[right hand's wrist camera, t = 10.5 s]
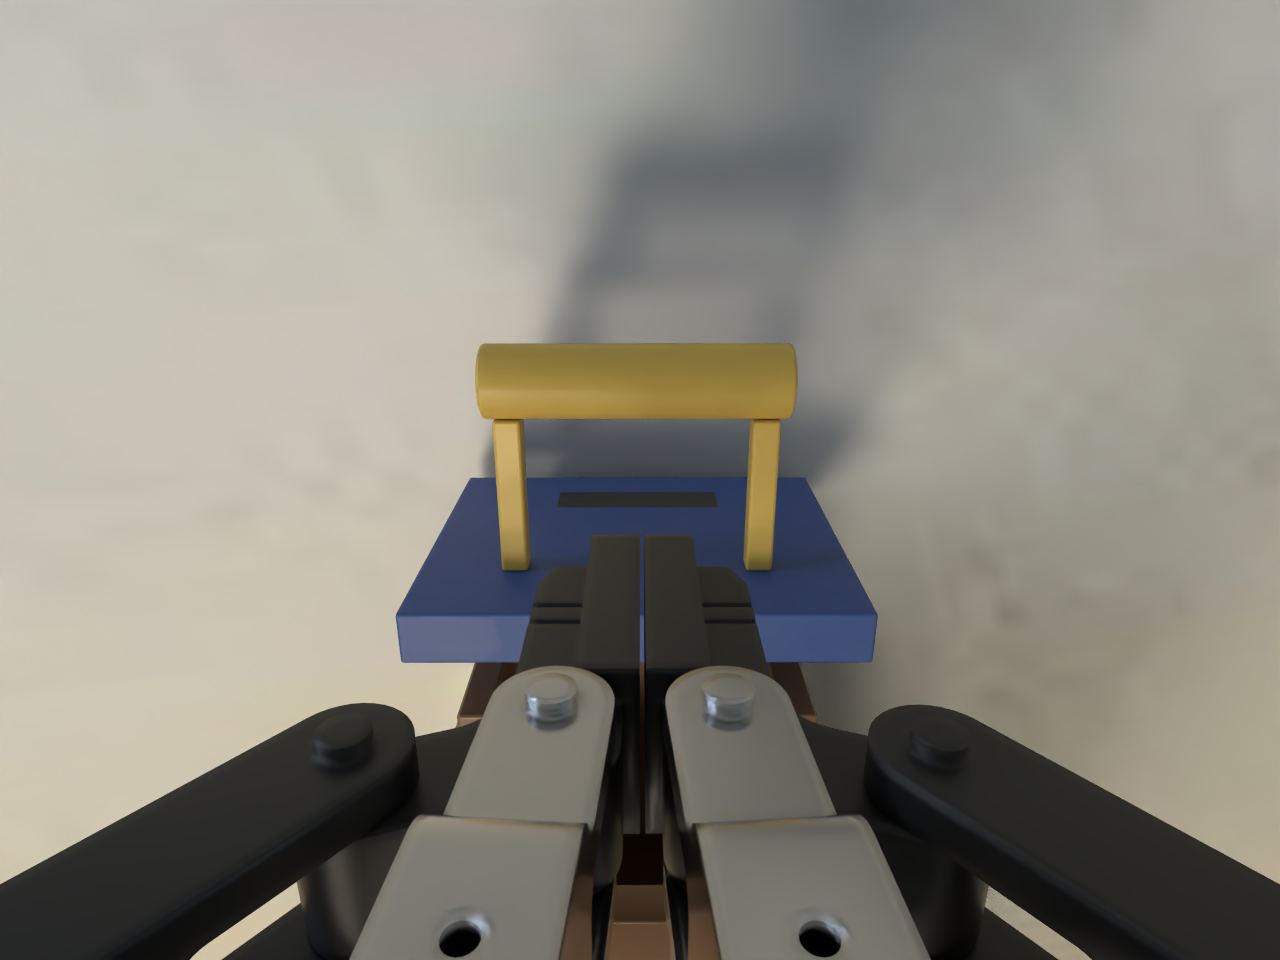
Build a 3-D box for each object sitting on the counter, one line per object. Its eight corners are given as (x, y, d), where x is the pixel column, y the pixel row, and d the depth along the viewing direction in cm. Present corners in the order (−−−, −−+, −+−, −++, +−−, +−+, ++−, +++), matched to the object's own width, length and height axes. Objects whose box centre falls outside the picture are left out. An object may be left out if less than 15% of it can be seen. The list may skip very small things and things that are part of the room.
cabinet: (473, 667, 28) (389, 922, 19) (802, 667, 28) (884, 922, 19) (500, 978, 34) (445, 1299, 24) (776, 978, 34) (830, 1298, 24)
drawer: (455, 301, 23) (364, 368, 15) (819, 301, 23) (907, 368, 15) (497, 829, 29) (448, 1057, 22) (778, 828, 29) (826, 1057, 22)
